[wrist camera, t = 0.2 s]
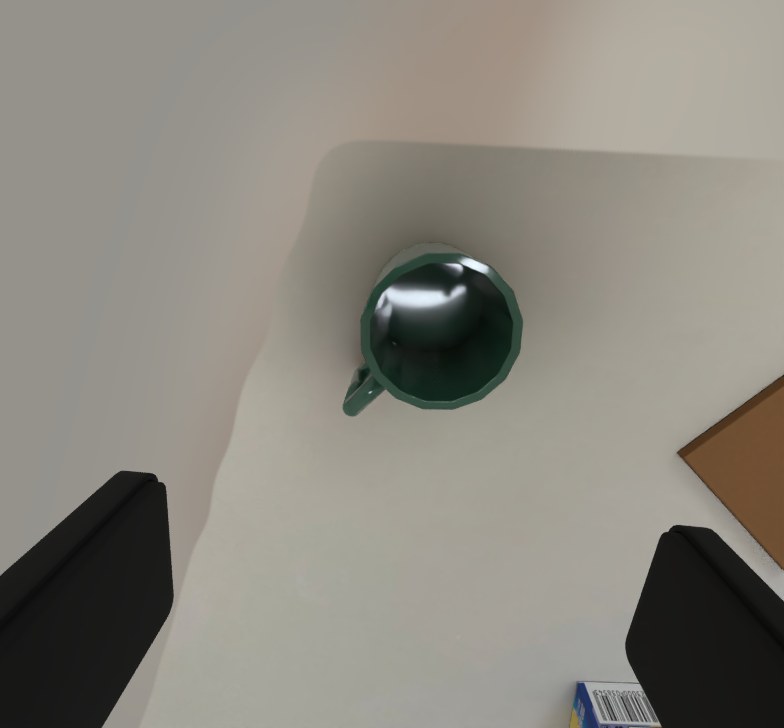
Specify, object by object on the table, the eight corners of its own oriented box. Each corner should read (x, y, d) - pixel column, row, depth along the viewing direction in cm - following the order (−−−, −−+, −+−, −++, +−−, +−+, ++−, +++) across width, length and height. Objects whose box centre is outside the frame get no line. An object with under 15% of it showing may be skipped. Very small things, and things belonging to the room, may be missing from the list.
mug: (432, 217, 27) (445, 215, 19) (511, 301, 29) (555, 336, 20) (319, 332, 30) (284, 377, 21) (396, 405, 31) (393, 475, 23)
